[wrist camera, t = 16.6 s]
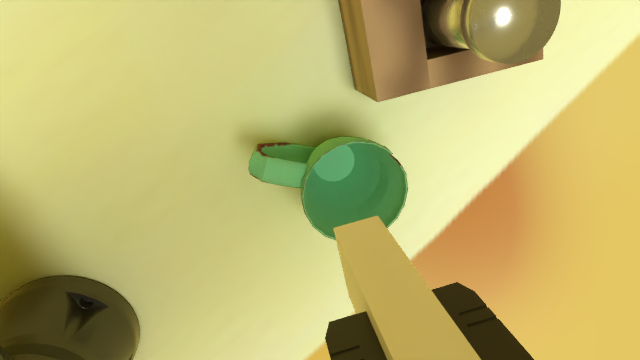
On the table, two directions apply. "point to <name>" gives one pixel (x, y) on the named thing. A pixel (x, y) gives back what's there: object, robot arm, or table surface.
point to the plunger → (491, 26)
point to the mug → (336, 179)
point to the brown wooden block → (403, 51)
